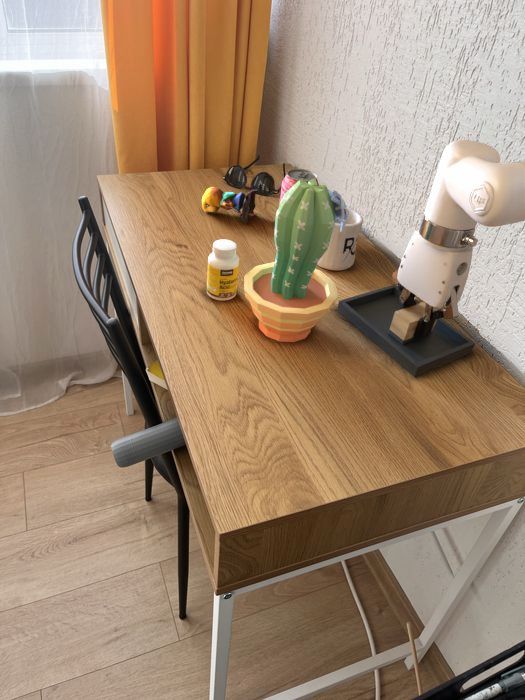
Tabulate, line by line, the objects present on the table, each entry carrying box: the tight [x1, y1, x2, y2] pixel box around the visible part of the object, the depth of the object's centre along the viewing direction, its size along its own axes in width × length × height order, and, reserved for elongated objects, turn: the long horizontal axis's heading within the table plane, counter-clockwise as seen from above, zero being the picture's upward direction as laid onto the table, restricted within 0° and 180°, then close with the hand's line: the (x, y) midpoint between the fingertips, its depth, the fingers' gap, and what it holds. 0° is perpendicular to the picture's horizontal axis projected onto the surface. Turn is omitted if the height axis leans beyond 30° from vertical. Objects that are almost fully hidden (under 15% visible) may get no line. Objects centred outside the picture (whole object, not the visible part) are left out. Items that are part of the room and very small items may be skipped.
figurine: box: [201, 186, 258, 225], centre depth 118 cm, size 11×8×6 cm, turn 66°
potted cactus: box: [243, 179, 348, 343], centre depth 81 cm, size 15×15×25 cm
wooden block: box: [389, 301, 437, 344], centre depth 88 cm, size 7×4×4 cm, turn 122°
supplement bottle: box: [206, 238, 240, 302], centre depth 92 cm, size 5×5×10 cm
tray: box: [336, 283, 476, 378], centre depth 90 cm, size 20×14×2 cm
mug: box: [316, 207, 364, 272], centre depth 106 cm, size 12×9×10 cm
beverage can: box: [278, 168, 320, 207], centre depth 114 cm, size 8×8×12 cm
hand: (412, 328), depth 89 cm, fingers closed on wooden block, 3 cm apart
